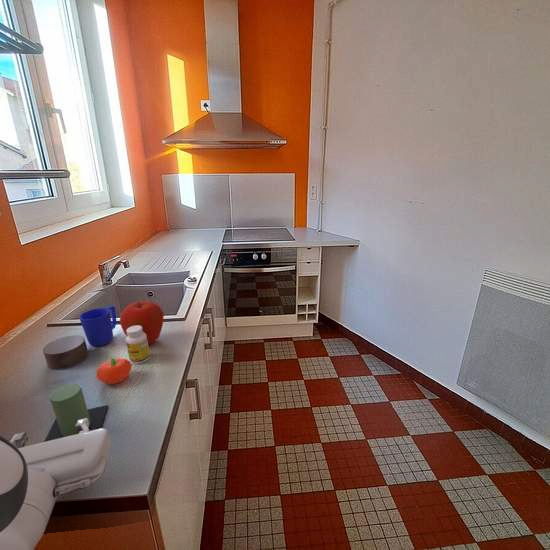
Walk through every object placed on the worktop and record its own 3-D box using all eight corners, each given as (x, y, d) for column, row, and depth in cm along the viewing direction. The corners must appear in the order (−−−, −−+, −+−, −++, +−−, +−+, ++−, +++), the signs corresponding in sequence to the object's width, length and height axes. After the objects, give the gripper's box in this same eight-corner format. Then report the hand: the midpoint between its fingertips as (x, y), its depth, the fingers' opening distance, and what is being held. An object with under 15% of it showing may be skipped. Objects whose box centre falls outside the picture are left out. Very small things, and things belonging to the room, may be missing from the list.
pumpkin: (102, 374, 80) (97, 353, 78) (134, 368, 82) (130, 348, 80) (95, 392, 73) (89, 370, 71) (130, 385, 75) (125, 363, 73)
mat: (38, 456, 57) (37, 454, 57) (57, 417, 66) (56, 415, 66) (97, 442, 59) (97, 439, 59) (108, 406, 69) (107, 404, 68)
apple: (128, 358, 87) (119, 314, 82) (122, 340, 96) (113, 299, 92) (171, 344, 93) (165, 302, 88) (162, 329, 103) (155, 290, 98)
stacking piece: (57, 440, 59) (45, 403, 56) (66, 421, 64) (55, 386, 61) (87, 433, 61) (76, 397, 58) (93, 415, 65) (84, 380, 63)
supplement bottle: (125, 362, 85) (118, 331, 82) (140, 352, 90) (134, 322, 86) (140, 366, 83) (134, 334, 80) (154, 355, 88) (149, 325, 84)
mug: (129, 330, 102) (123, 303, 99) (104, 350, 91) (96, 320, 88) (107, 328, 104) (101, 302, 101) (80, 348, 93) (72, 318, 89)
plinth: (41, 373, 81) (36, 357, 80) (55, 353, 90) (50, 338, 89) (83, 365, 84) (79, 350, 82) (92, 347, 93) (88, 332, 91)
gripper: (96, 465, 42) (114, 399, 55) (-91, 516, 37) (-23, 429, 49) (106, 497, 44) (121, 426, 57) (-70, 550, 39) (-10, 458, 51)
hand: (53, 428), depth 53 cm, fingers open, 8 cm apart
